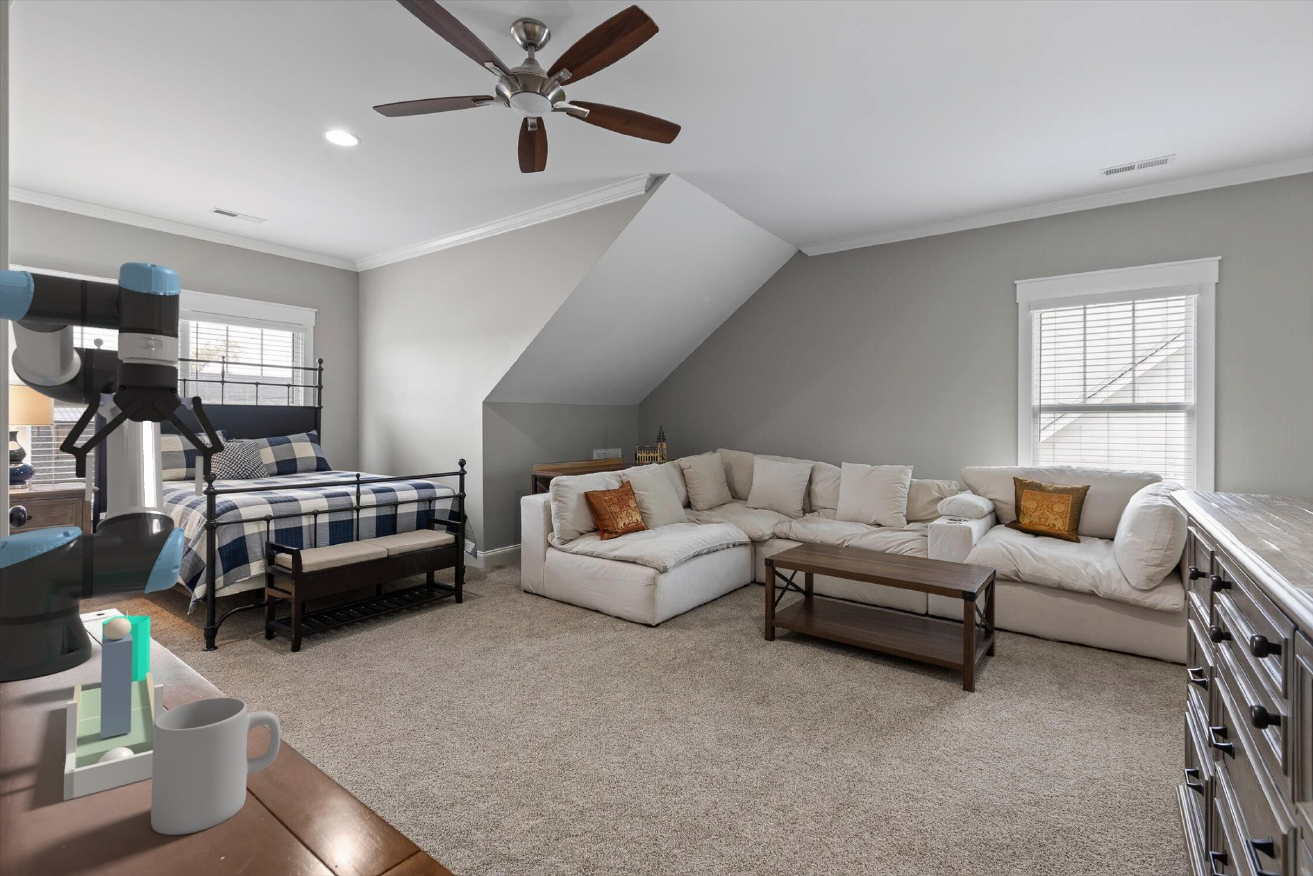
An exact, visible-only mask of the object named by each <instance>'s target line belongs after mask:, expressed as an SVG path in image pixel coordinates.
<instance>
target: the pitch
mask: <svg viewBox="0 0 1313 876" xmlns="http://www.w3.org/2000/svg"><path fill="white" fill-rule="evenodd" d="M154 685H155V683H154V677H153V672H152V671H150V672H149V673H146V679H145V680H140V681H134V682H132V693H131V732H129V733H124V734H120V735H115V736H111V737H106V738H102V739H100V727H101V687H96V688H91V689H90V688H89V689H87V690H82V684H77V685H75V686H74V691H73V699H72V701H74V700H77V753H76V769H77V768H81V767H85V766H89V765H93V764H97V763H98V762H99V760H100V758H101V757H102V756H103V755H104V754H105V753H106V752H108V751H110V750H112V749H114V748H118V747H125V748H128V749H130V750H131V751H132V752H133V753H134V755H135V754H139V753H143V752H147V751H151V750H153V724H154Z"/></svg>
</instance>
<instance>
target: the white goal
mask: <svg viewBox="0 0 1313 876" xmlns="http://www.w3.org/2000/svg"><path fill="white" fill-rule="evenodd" d="M162 713H164V683H160V684H154V722H155V720H156V718H157V717H158V716H160V715H161V714H162ZM153 725H154V724H153ZM65 729H66V733H65V735H66V736H65V737H66V739H65V742H66V743H65V764H64V765H65V766H64V773H63V774H64V775H63V776H64V777H63V801H64V802H65V801H68V800H72V799H73V800H74V799H76V798H80V797H84V796H89V795H91V794H96V793H99V792H102V791H107V790H112V789H115V788H119V787H122V786H126V785H129V784H133V783H136V782H137V783H138V782H141V781H145V780H149V779H152V766H153V750H151V751H147V752H143V753H139V754H135V755H131V756H126V757H122V758H118V759H114V760H110V761H106V762H101V763H97V764H93V765H89V766H85V767H81V768H77V769H76V753H77V700H74V701H73V700H70V701H66V728H65Z"/></svg>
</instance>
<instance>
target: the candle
mask: <svg viewBox="0 0 1313 876" xmlns="http://www.w3.org/2000/svg"><path fill="white" fill-rule="evenodd" d="M128 612H129V611H128V609H127V610H126V615H117V616H113V617H110V618H108V619H106V620H104V621H103V622H102V627H101V628H102V632H101V633H102V636H101V637H102V639H104V638H106V637H105V635H104V633H103V629H104V626H105V625H106V623H107V622H109V621H110V620H112V619H114V618H125V619H127V620H128V621H129V622H130V623H131V630H130V632H129V634H128V635H131V634H132V682H134V681H140V680H145V679H146V673H149V672H151V671H150V670H151V669H150V668H151V665H150V664H151V663H150V662H151V661H150V660H151V658H150V657H151V616H149V615H129V613H128ZM102 639H101V640H102Z"/></svg>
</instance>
